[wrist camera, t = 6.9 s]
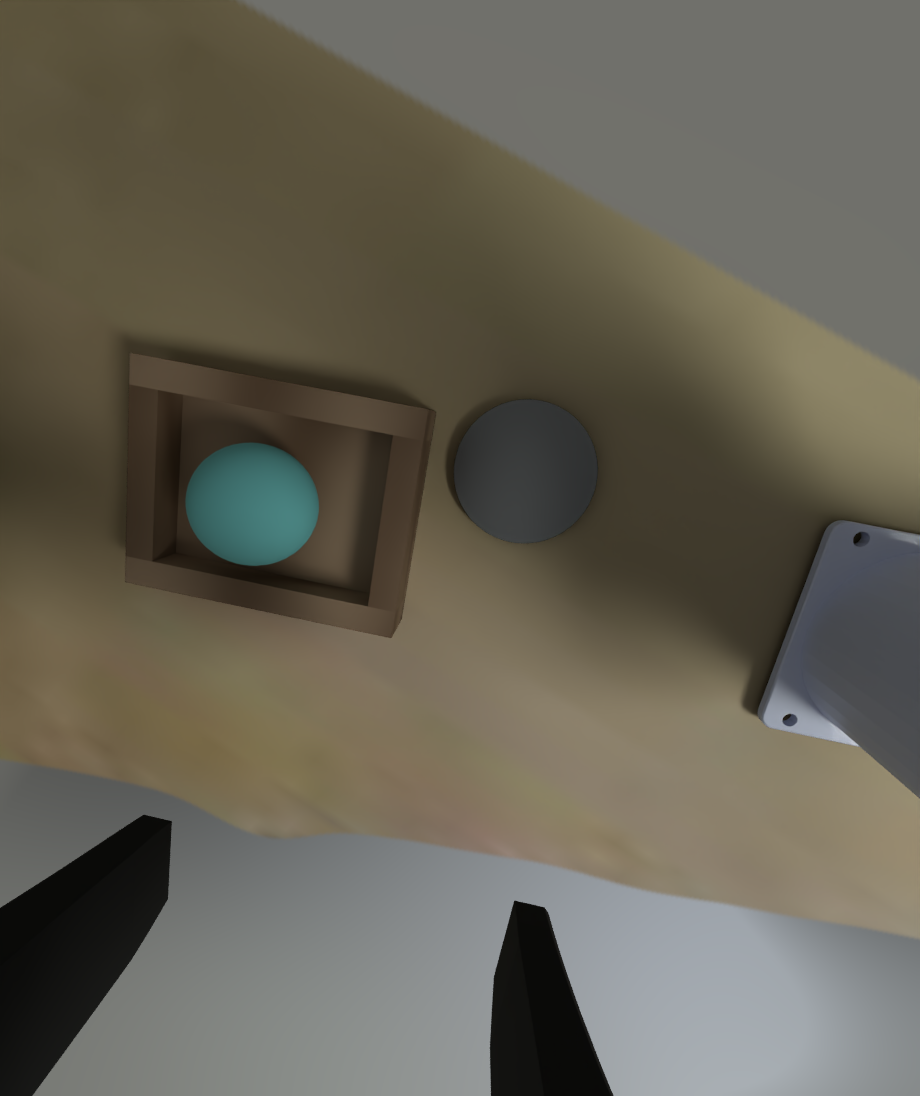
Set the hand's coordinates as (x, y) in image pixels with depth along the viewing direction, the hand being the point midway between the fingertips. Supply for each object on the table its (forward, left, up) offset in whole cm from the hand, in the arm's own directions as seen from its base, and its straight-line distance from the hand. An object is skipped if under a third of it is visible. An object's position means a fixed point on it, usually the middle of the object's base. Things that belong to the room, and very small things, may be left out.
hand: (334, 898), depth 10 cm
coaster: (-2, -9, -10) cm, 13 cm away
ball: (+6, -6, -9) cm, 13 cm away
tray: (+6, -6, -10) cm, 13 cm away
